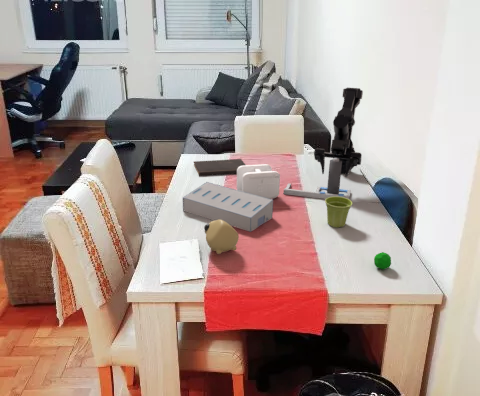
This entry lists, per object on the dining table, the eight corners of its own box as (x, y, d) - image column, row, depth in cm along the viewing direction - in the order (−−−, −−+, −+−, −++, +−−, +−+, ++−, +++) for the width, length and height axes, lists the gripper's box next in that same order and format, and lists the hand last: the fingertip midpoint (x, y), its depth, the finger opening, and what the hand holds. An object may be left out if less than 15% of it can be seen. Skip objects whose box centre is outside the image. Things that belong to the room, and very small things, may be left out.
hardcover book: (193, 166, 235) (193, 161, 234) (241, 163, 240) (241, 158, 239) (199, 177, 221) (198, 172, 220) (249, 174, 226) (249, 169, 225)
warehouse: (182, 211, 185) (182, 192, 182) (206, 199, 196) (206, 181, 193) (250, 233, 170) (251, 212, 167) (272, 219, 181) (273, 199, 178)
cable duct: (288, 184, 213) (289, 178, 212) (350, 191, 207) (351, 185, 206) (283, 193, 203) (283, 188, 202) (348, 201, 196) (349, 195, 195)
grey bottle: (325, 191, 206) (328, 157, 200) (336, 191, 206) (340, 156, 201) (328, 196, 201) (332, 160, 196) (340, 195, 202) (343, 160, 196)
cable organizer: (271, 190, 207) (272, 163, 202) (279, 199, 197) (280, 171, 193) (236, 192, 203) (236, 165, 199) (242, 202, 194) (243, 174, 189)
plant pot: (351, 220, 180) (354, 198, 176) (347, 231, 171) (350, 208, 168) (325, 216, 182) (327, 194, 179) (320, 227, 174) (322, 204, 171)
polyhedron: (387, 263, 151) (389, 249, 149) (392, 272, 147) (394, 257, 145) (371, 263, 151) (372, 249, 149) (375, 272, 146) (377, 257, 145)
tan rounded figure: (227, 239, 164) (227, 209, 160) (243, 255, 154) (244, 224, 150) (199, 244, 160) (198, 214, 156) (214, 261, 150) (214, 229, 146)
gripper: (316, 128, 201) (309, 163, 195) (363, 133, 195) (358, 168, 190) (318, 142, 211) (311, 175, 205) (363, 147, 205) (357, 181, 200)
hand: (334, 175), depth 200 cm, fingers open, 9 cm apart
